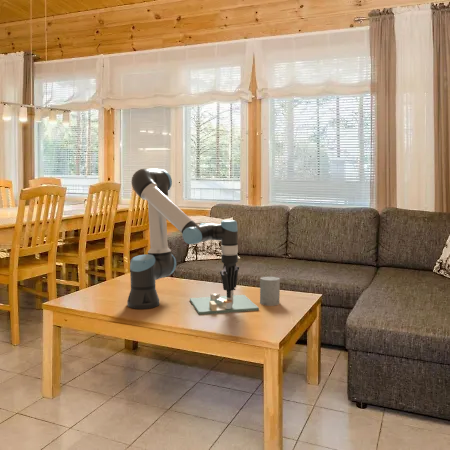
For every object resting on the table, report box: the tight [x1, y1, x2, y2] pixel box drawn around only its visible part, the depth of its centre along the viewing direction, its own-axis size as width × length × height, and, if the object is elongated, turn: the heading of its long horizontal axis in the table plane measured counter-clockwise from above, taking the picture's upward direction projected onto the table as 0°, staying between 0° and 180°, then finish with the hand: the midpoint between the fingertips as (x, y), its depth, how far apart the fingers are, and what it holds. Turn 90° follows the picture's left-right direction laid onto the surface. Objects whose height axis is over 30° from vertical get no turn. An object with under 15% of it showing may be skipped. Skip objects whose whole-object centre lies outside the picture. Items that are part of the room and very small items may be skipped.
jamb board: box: [189, 294, 260, 315], centre depth 234 cm, size 28×24×4 cm
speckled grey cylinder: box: [259, 275, 281, 307], centre depth 237 cm, size 10×10×12 cm
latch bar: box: [209, 292, 232, 309], centre depth 228 cm, size 14×4×4 cm, turn 35°
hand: (230, 303), depth 227 cm, fingers closed
